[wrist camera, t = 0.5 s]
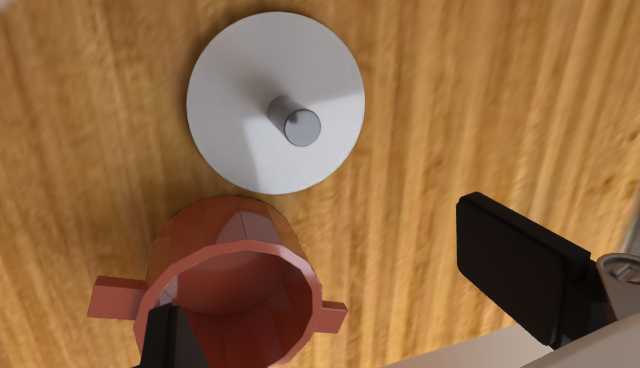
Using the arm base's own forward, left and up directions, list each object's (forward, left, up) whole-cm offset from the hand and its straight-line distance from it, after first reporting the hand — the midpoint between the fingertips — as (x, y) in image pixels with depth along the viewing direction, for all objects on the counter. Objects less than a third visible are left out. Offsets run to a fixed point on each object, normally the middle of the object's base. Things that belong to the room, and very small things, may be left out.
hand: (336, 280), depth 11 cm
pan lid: (-3, +1, -18) cm, 18 cm away
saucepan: (+11, +1, -19) cm, 22 cm away
